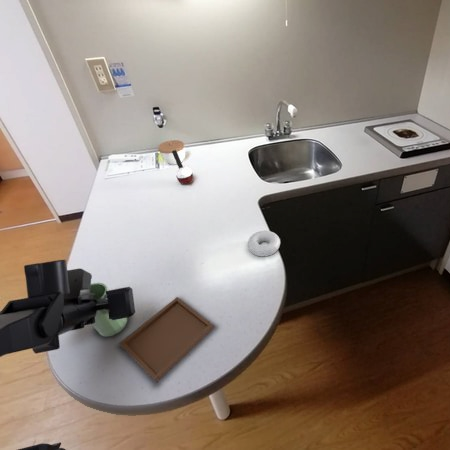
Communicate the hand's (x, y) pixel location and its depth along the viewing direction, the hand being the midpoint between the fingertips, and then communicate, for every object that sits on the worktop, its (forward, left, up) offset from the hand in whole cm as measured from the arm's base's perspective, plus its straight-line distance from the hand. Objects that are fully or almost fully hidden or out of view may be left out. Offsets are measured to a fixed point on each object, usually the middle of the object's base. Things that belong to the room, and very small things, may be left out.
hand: (103, 303), depth 71 cm
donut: (+41, -13, -7) cm, 44 cm away
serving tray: (+5, -15, -7) cm, 17 cm away
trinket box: (+59, +56, -7) cm, 82 cm away
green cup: (-1, -1, -7) cm, 7 cm away
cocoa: (+51, +38, -7) cm, 64 cm away
